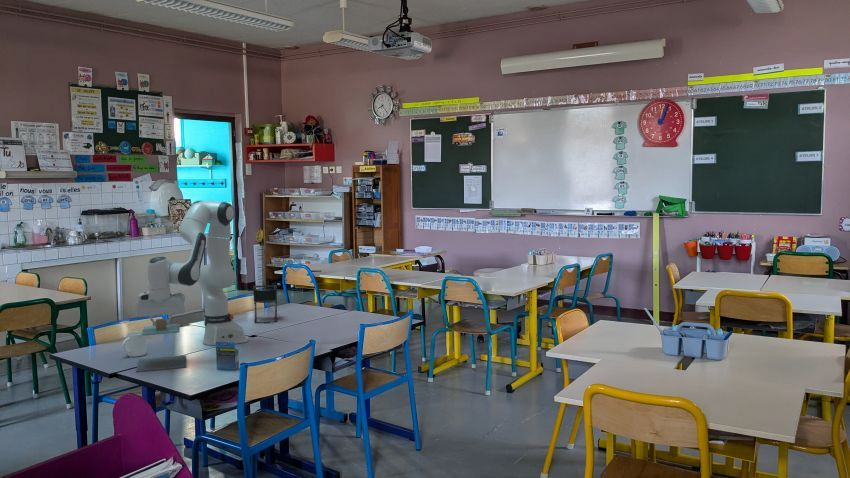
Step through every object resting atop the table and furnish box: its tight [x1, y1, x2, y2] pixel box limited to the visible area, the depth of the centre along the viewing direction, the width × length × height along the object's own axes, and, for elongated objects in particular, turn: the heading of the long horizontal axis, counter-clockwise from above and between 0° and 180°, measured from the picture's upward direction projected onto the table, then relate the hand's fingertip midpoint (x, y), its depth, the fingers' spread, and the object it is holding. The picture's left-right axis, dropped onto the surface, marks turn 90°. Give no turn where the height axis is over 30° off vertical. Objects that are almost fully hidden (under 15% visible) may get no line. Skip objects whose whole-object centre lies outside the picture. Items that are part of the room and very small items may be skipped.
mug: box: [121, 330, 147, 358], centre depth 307 cm, size 12×8×10 cm
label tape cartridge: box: [215, 342, 240, 371], centre depth 285 cm, size 9×4×12 cm, turn 81°
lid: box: [142, 318, 181, 336], centre depth 292 cm, size 15×15×5 cm
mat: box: [135, 354, 187, 373], centre depth 293 cm, size 20×20×1 cm
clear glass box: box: [252, 284, 278, 324], centre depth 384 cm, size 13×17×22 cm
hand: (161, 324), depth 292 cm, fingers closed on lid, 4 cm apart
